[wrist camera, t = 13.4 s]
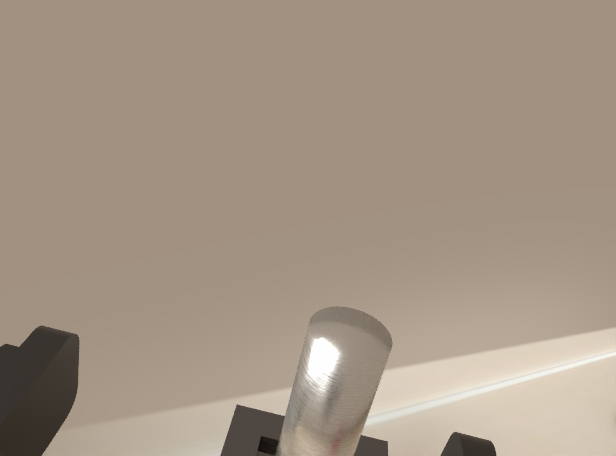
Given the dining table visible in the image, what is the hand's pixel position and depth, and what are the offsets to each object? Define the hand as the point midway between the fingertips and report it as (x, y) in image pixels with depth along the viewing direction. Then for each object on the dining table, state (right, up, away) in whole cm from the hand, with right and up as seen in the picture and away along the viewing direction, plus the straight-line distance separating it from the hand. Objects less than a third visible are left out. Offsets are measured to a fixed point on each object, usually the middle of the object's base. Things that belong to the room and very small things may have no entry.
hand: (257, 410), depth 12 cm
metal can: (0, -17, +25) cm, 30 cm away
